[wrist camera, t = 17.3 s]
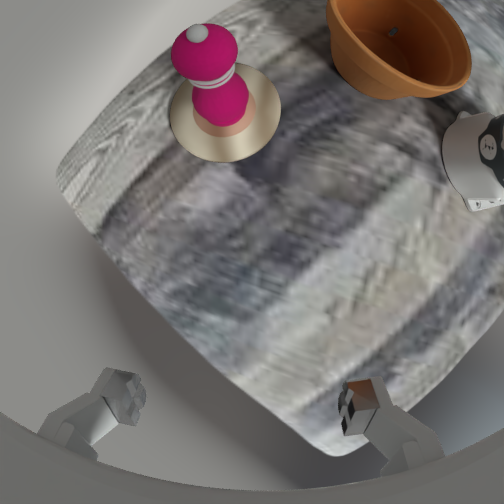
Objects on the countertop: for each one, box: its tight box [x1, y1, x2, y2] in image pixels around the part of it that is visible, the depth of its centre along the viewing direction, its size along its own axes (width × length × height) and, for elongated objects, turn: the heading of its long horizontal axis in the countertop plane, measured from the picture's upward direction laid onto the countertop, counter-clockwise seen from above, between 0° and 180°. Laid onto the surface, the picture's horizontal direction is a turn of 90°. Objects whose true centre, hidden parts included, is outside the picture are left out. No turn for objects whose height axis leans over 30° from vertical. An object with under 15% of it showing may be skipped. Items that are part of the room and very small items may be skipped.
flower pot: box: [326, 0, 472, 100], centre depth 27 cm, size 21×21×15 cm
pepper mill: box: [171, 24, 249, 127], centre depth 25 cm, size 7×7×20 cm
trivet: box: [170, 63, 281, 163], centre depth 36 cm, size 16×16×1 cm
